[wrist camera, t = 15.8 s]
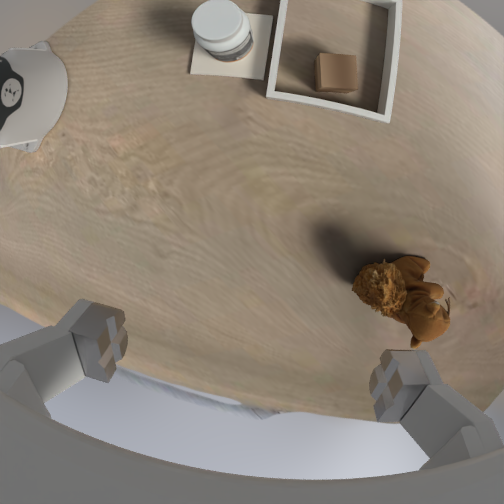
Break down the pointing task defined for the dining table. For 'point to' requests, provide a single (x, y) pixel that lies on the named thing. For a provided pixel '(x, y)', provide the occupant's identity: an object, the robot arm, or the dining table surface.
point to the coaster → (245, 67)
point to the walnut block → (335, 73)
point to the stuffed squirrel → (405, 296)
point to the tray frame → (383, 115)
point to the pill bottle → (223, 30)
